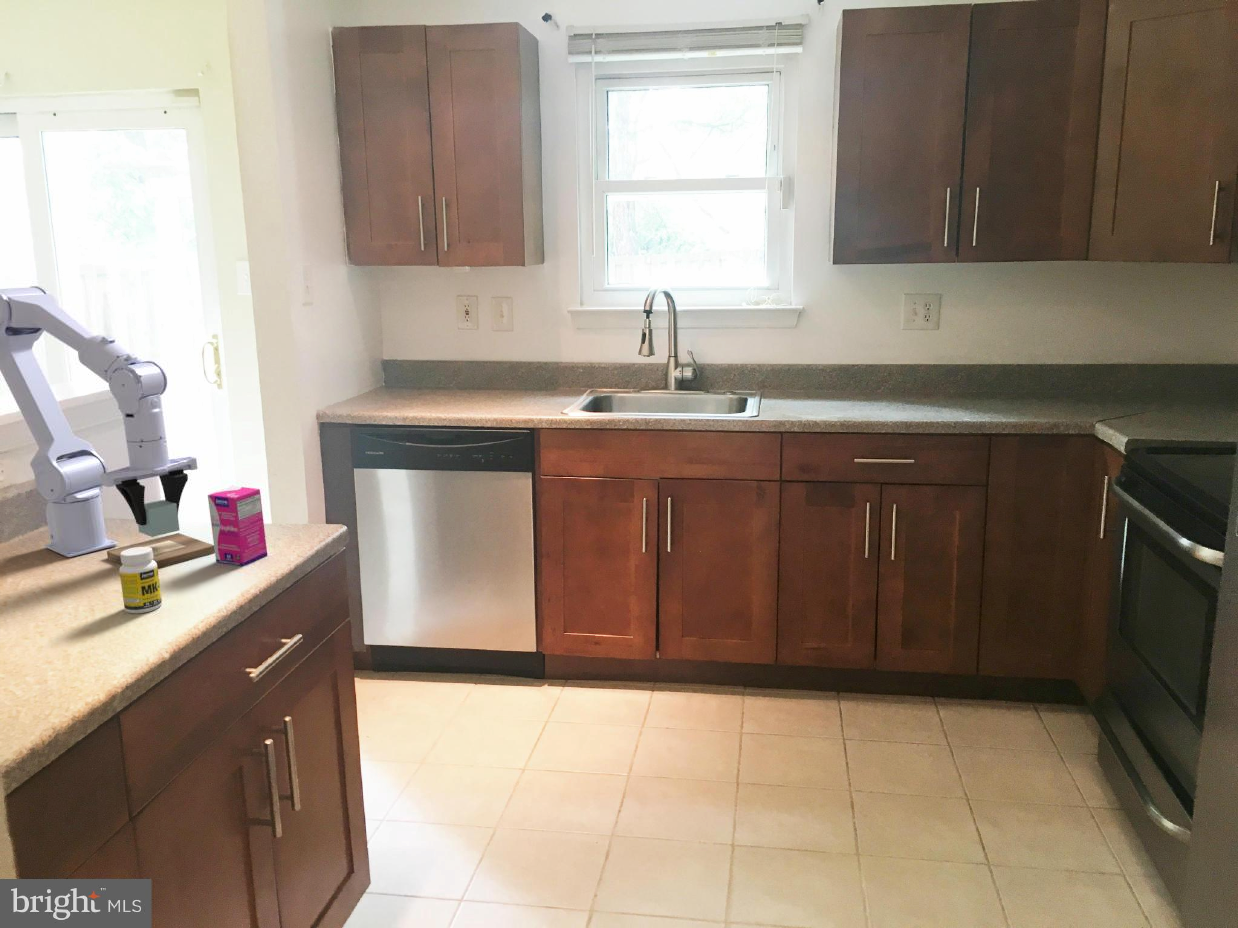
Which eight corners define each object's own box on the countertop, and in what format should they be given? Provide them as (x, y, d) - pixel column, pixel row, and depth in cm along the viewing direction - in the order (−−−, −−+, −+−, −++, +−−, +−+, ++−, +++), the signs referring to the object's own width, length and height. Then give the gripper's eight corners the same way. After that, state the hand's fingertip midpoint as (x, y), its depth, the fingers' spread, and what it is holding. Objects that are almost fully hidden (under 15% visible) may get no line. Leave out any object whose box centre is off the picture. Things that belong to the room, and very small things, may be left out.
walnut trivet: (107, 557, 154) (106, 550, 154) (179, 539, 163) (178, 532, 163) (142, 572, 147) (141, 564, 146) (215, 552, 156) (214, 544, 155)
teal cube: (139, 532, 153) (135, 505, 152) (166, 525, 157) (163, 499, 156) (151, 536, 151) (148, 509, 150) (179, 530, 154) (176, 503, 153)
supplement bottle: (147, 615, 129) (138, 557, 127) (117, 613, 130) (108, 555, 128) (169, 602, 134) (162, 546, 132) (140, 600, 135) (132, 544, 133)
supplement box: (214, 563, 151) (205, 493, 148) (241, 551, 156) (233, 485, 153) (242, 567, 148) (234, 497, 146) (269, 555, 154) (261, 487, 151)
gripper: (111, 449, 142) (123, 535, 145) (202, 433, 153) (212, 513, 157) (90, 444, 147) (102, 527, 150) (180, 429, 158) (190, 507, 161)
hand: (157, 520), depth 153 cm, fingers closed on teal cube, 4 cm apart
